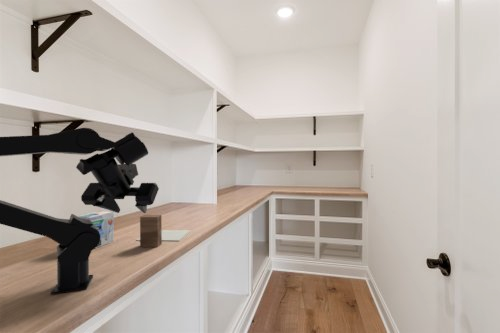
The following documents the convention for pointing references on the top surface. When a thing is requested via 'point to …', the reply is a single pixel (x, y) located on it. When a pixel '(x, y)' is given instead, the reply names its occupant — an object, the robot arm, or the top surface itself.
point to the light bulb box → (102, 225)
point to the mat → (172, 235)
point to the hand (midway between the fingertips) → (132, 211)
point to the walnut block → (150, 231)
